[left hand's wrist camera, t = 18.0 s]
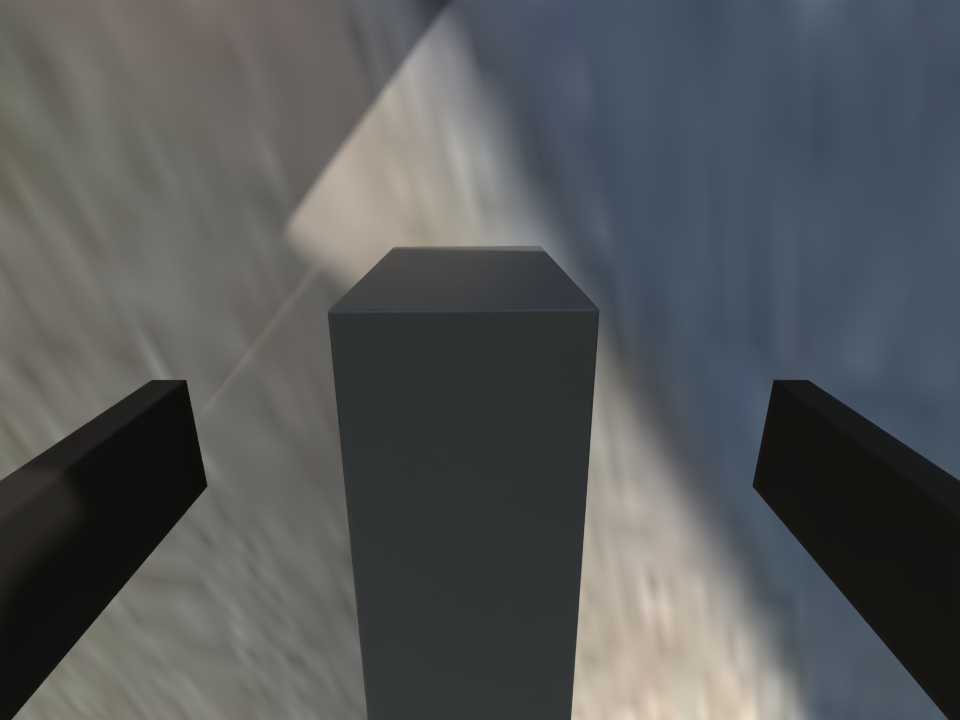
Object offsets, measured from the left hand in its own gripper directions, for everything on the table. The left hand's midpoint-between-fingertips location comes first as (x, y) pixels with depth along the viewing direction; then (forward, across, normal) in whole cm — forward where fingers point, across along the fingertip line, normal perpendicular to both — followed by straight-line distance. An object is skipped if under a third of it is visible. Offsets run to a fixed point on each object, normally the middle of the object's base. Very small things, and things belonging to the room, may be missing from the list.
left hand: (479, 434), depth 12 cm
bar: (+8, 0, -9) cm, 12 cm away
